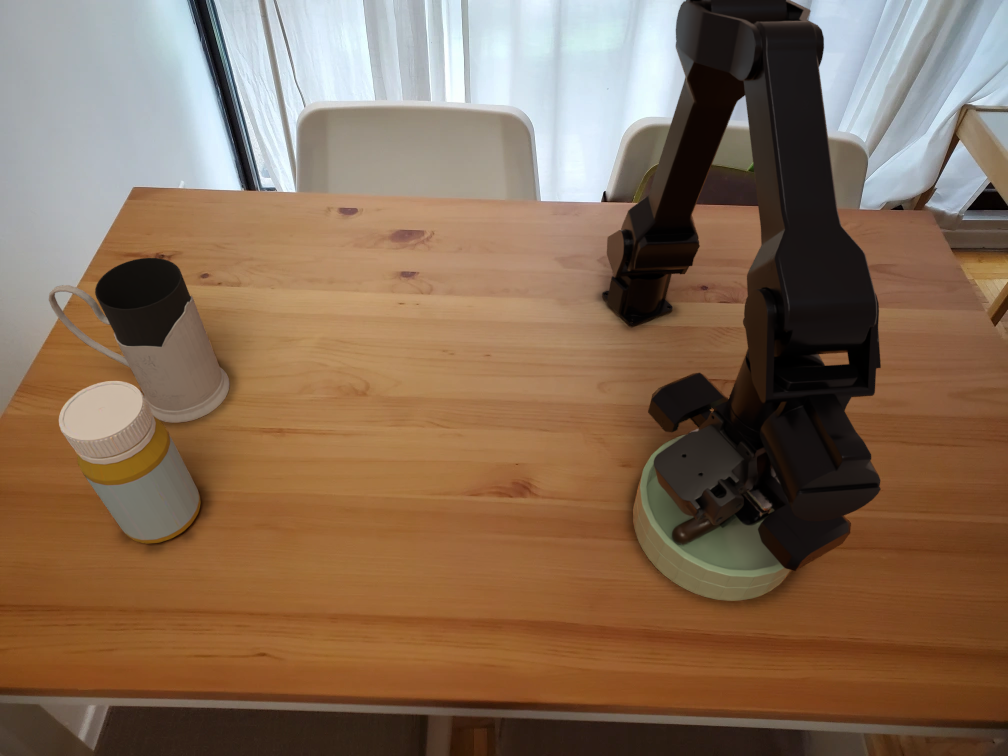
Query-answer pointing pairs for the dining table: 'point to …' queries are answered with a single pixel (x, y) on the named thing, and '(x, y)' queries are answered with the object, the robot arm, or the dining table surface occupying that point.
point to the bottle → (130, 461)
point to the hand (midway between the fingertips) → (717, 516)
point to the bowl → (702, 547)
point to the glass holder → (156, 337)
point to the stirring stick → (692, 530)
